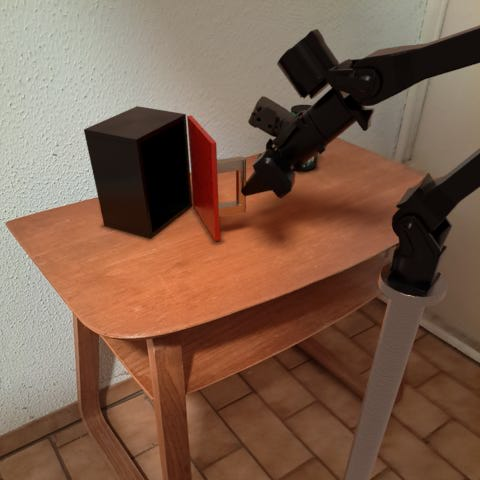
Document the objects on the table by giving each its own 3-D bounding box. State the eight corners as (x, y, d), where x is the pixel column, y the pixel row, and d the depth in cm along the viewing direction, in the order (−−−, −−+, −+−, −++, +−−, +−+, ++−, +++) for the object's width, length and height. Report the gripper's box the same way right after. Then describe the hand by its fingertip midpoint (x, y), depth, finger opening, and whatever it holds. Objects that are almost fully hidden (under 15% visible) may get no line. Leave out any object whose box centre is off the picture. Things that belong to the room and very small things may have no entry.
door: (224, 201, 90) (222, 111, 79) (249, 235, 80) (250, 138, 69) (193, 206, 88) (186, 115, 78) (215, 241, 78) (211, 143, 68)
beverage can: (314, 159, 106) (319, 103, 98) (318, 172, 100) (325, 113, 93) (282, 160, 106) (286, 103, 98) (285, 172, 100) (289, 113, 92)
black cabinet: (192, 206, 89) (185, 113, 78) (150, 238, 79) (136, 139, 69) (149, 195, 92) (137, 106, 81) (103, 225, 83) (83, 129, 72)
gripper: (294, 66, 73) (226, 133, 82) (271, 95, 59) (192, 172, 67) (338, 123, 76) (268, 181, 85) (327, 163, 62) (244, 228, 71)
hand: (245, 189), depth 77 cm, fingers open, 3 cm apart
